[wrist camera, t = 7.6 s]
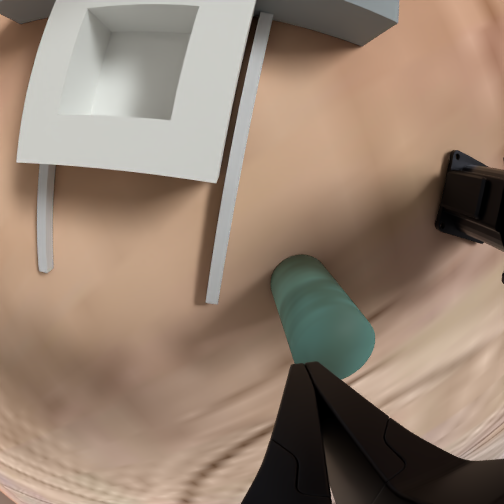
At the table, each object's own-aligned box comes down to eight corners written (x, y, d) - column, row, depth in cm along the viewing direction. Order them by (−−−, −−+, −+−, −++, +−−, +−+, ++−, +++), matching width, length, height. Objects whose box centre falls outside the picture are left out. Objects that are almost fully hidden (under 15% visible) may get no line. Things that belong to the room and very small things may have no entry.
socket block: (253, 15, 15) (261, -24, 10) (219, 175, 18) (216, 183, 13) (95, 9, 13) (65, -21, 8) (59, 157, 16) (16, 162, 12)
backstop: (365, 24, 15) (399, -2, 10) (305, 308, 21) (325, 349, 17) (28, 3, 12) (-4, -16, 7) (-9, 253, 18) (-46, 275, 13)
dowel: (333, 259, 20) (386, 317, 13) (318, 310, 22) (357, 382, 14) (277, 250, 20) (307, 309, 12) (265, 304, 21) (284, 381, 13)
